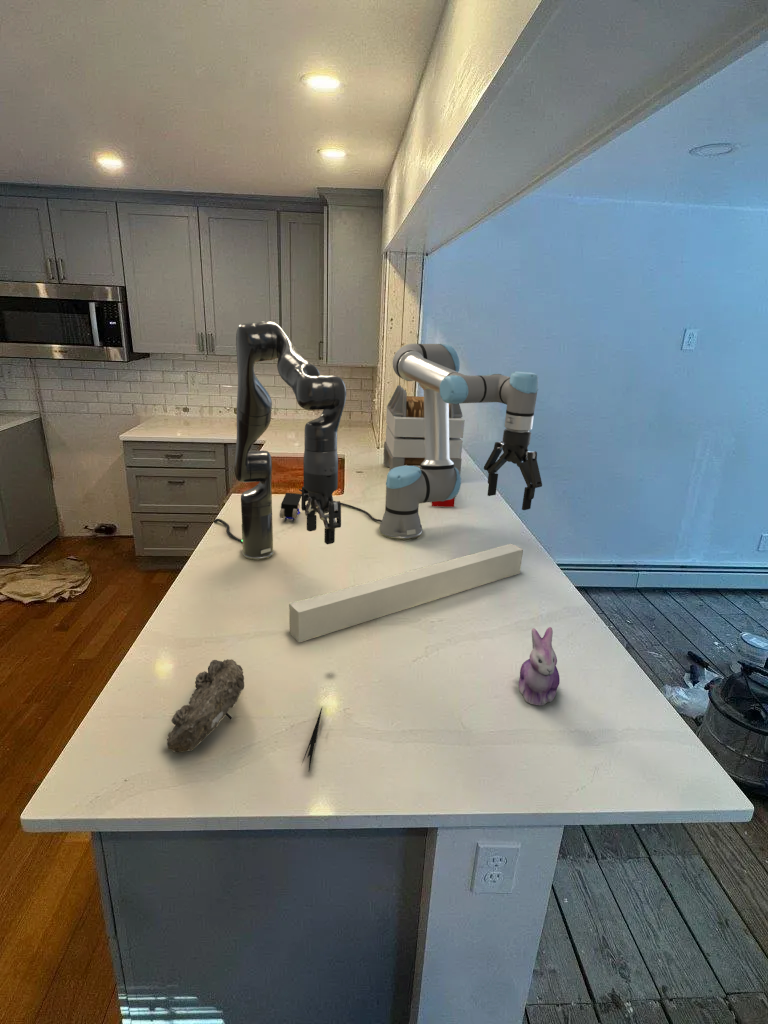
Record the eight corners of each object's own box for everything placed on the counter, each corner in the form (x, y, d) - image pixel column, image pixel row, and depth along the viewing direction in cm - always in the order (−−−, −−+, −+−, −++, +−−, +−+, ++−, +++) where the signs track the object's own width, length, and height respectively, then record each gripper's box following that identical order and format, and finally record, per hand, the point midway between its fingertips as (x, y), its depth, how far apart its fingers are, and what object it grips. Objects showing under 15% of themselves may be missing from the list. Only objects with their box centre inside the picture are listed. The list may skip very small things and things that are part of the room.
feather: (331, 679, 122) (336, 673, 122) (307, 777, 96) (313, 769, 95) (324, 675, 122) (329, 669, 121) (298, 772, 95) (304, 764, 95)
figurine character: (298, 528, 204) (302, 509, 218) (297, 509, 201) (302, 491, 214) (279, 527, 204) (285, 509, 217) (278, 508, 201) (284, 491, 214)
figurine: (537, 713, 113) (548, 649, 108) (505, 684, 121) (513, 623, 116) (572, 701, 117) (584, 638, 112) (538, 673, 125) (548, 613, 120)
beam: (508, 567, 178) (511, 543, 175) (520, 573, 174) (523, 549, 171) (289, 632, 137) (289, 603, 134) (298, 642, 133) (298, 612, 130)
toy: (449, 465, 254) (460, 474, 224) (447, 494, 256) (458, 508, 227) (422, 464, 253) (429, 474, 224) (421, 494, 256) (428, 507, 227)
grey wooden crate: (382, 463, 289) (386, 382, 275) (445, 464, 293) (451, 384, 279) (390, 482, 257) (394, 392, 243) (460, 483, 261) (468, 394, 247)
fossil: (192, 660, 117) (244, 628, 112) (224, 691, 120) (276, 661, 115) (142, 746, 98) (202, 712, 93) (182, 779, 101) (242, 748, 96)
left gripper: (290, 462, 127) (291, 529, 133) (321, 479, 117) (320, 551, 122) (320, 459, 132) (319, 524, 137) (352, 474, 121) (350, 544, 126)
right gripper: (476, 422, 164) (469, 491, 172) (543, 440, 145) (532, 517, 153) (495, 420, 168) (487, 488, 176) (563, 438, 149) (550, 513, 157)
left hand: (320, 536), depth 130 cm, fingers open, 8 cm apart
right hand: (508, 502), depth 164 cm, fingers open, 13 cm apart
